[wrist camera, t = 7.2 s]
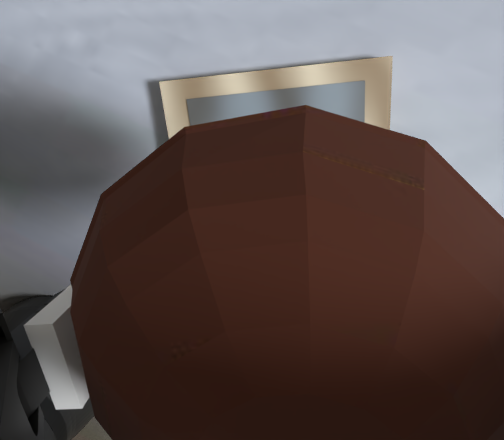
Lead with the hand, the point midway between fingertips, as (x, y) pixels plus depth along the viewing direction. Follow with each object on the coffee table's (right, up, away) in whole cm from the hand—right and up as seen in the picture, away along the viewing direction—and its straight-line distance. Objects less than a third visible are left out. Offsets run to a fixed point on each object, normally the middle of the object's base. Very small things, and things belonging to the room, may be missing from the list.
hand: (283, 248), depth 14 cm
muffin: (0, 0, +1) cm, 1 cm away
